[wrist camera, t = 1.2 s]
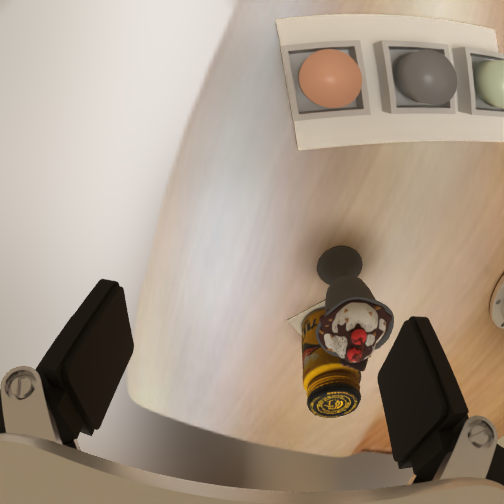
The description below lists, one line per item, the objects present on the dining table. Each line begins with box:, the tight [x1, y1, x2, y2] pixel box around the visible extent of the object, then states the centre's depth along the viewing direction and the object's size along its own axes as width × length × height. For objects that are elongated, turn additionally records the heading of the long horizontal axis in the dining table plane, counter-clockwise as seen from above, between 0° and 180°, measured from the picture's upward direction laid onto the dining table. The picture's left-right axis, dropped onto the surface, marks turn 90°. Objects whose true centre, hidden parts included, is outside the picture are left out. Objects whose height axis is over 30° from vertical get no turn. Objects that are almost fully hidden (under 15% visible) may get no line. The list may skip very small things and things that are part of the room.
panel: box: [276, 14, 504, 151], centre depth 22 cm, size 22×12×4 cm, turn 100°
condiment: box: [288, 301, 361, 418], centre depth 32 cm, size 7×8×12 cm
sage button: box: [473, 60, 504, 109], centre depth 18 cm, size 4×4×3 cm
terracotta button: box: [298, 49, 362, 108], centre depth 21 cm, size 4×4×3 cm
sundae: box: [315, 246, 394, 371], centre depth 27 cm, size 7×7×15 cm
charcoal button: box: [395, 50, 457, 105], centre depth 19 cm, size 4×4×3 cm
